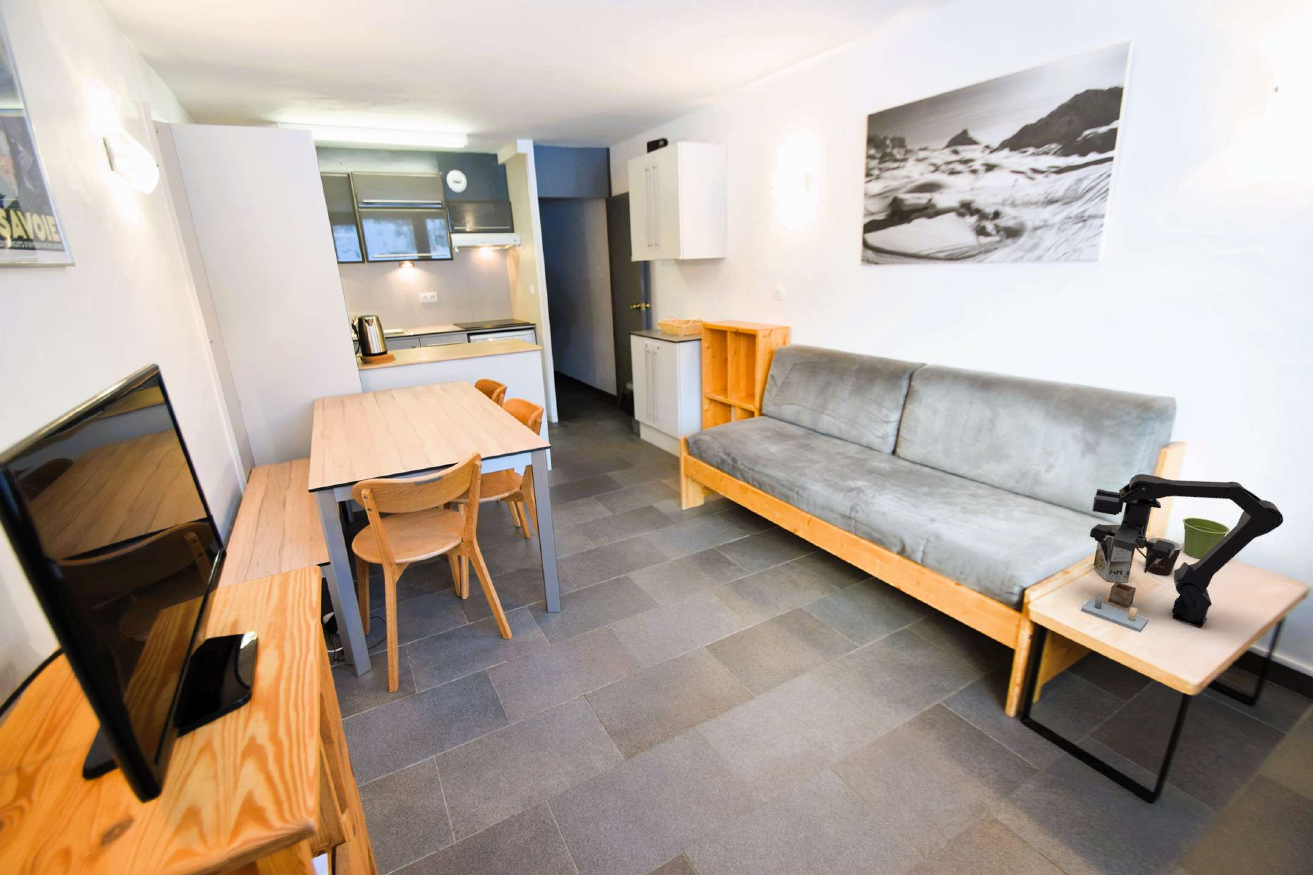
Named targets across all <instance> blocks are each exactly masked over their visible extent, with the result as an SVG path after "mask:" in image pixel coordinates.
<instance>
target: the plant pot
mask: <svg viewBox="0 0 1313 875" xmlns="http://www.w3.org/2000/svg"><path fill="white" fill-rule="evenodd" d="M1182 523H1183V528H1184V541H1183V543H1184V544H1183V552H1184V553H1185V554H1186V555H1190V557H1193V558H1195V559H1199V560H1200V559H1201V558H1202V557H1203V556H1204V555H1205V554H1207V553H1208V552H1209V551H1210V550H1211V549H1212V548H1213V547H1214V546H1215V545H1216V544H1217V543H1218V542H1219V541H1220V540H1222V539H1223V538H1224V537H1225V536H1226V535H1227V534H1228V533H1229V532H1230V531H1231V529H1230V528H1229V527H1228V526H1227V525H1225V524H1223V523H1221V522H1217V521H1214V520H1211V519H1207V518H1200V517H1186V518H1183V519H1182Z"/></svg>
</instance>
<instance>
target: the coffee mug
mask: <svg viewBox="0 0 1313 875" xmlns="http://www.w3.org/2000/svg"><path fill="white" fill-rule="evenodd" d="M1146 539H1147V541H1150V542H1153V543H1155V542H1156V541H1157V540H1162V541H1166V542H1169V543H1173V544H1174V545H1175V551H1174V553H1173V555H1172V556H1171V557H1170V558H1163V559H1157V560H1156V561H1155V562H1154V563H1153V564H1152V566H1151V567H1150V568H1149V570H1148V571H1147V572H1148V573H1150V574H1153V575H1155V576H1161V577H1169V576H1171V574H1172V572H1173V571H1174V567H1175V564H1176V562H1177V560H1178V558H1179V555H1180V553H1181V550H1182V548H1183V546H1182V545H1181V544H1180V543H1179V542H1177V541H1174V540H1170V539H1169V538H1168V539H1167V538H1162V537H1148V538H1146ZM1135 550H1137V552H1138V553H1139V554H1140V555H1141V556H1142V557H1143V558H1144V559H1145V565H1146V564H1147V561H1148V559H1149V555H1150V554H1151V553H1152V552H1151V551H1152V549H1150V548H1146V549H1145V551H1146V552H1145V553H1146V554H1144V552H1143V551H1142V550H1140V548H1138V549H1137V548H1135Z"/></svg>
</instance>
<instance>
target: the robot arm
mask: <svg viewBox="0 0 1313 875" xmlns="http://www.w3.org/2000/svg"><path fill="white" fill-rule="evenodd" d="M1118 491H1119V492H1117V491H1110V490H1104V489H1101V488H1097V489H1096V492H1095V496H1094V497H1093V503H1092V512H1094V513H1100V514H1105V515H1106V514H1107V515H1112V516H1117V515H1120V513H1123V516H1122V519H1121V520H1122V521H1121V523H1120V525H1121V526H1120V527H1119V529H1118V531H1117V533H1116V532H1113V531H1112V530H1113V528H1112V527H1109V526H1105V525H1106V524H1101V523H1098V524H1096V525H1094V526H1092V528H1091V530H1090V533H1089V537H1090V538H1093V539H1094V541H1095V542H1097V543H1098V542H1099V543H1100V544H1101V546H1102V549H1103V552H1104V556H1105V560H1106V561H1108V560H1109V557H1110V551H1111V543H1112V538H1114V544H1113V545H1114V546H1115V547H1117V548H1122V549H1126V550H1127V551H1134V550H1135V551H1136V550H1137V549H1142V550H1143V549H1145V548H1146V549H1147V548H1150V549H1152V551H1151V552H1152V553H1151V554H1150V555H1149V559H1148V561H1147V564H1146V563H1145V567H1144V571H1143V574H1146V573H1147V572H1148V570H1149V568H1150V567H1151V566H1152V564H1153V563H1154V562H1155V561H1156V560H1157V559H1163V558H1170V557H1171V556H1172V555H1173V553H1174V551H1175V545H1174V544H1173V543H1169V542H1166V541H1162V540H1157V541H1156V542H1155V543H1153V542H1150V541H1147V539H1148V538H1147V536H1146V535H1147V529H1148V526H1149V522H1150V521H1149V520H1150V516H1151V511H1152V508H1156V509H1162V505H1161V502H1160V501H1159V499H1163V498H1167V497H1168V498H1169V497H1183V498H1184V497H1185V498H1199V499H1200V498H1203V499H1204V498H1206V499H1220V500H1221V499H1222V500H1223V499H1224V500H1230V501H1232V502H1233V503H1234V504H1235V505H1237V506H1238V507H1239V508H1240V509H1241V510H1242V513H1241V515H1240V517H1239V519H1238V521H1237V523H1236V525H1235V526H1234V527H1233V528H1232V529H1230V531H1229V532H1228V533H1226V535H1225V537H1224V538H1223V539H1222V540H1220V541H1219V542H1218V543H1217V544H1216V545H1215V546H1214V547H1213V548H1212V549H1211V550H1210V551H1209V552H1208V553H1207V554H1205V555H1204V556H1203V557H1202V558H1201V559H1200V558H1199V560H1198V561H1197V562H1196V561H1195V563H1191V564H1189V563H1187V562H1186V561H1184V562H1183V563H1182V564H1181V565H1180V567H1179V568H1177V569H1175V570H1174V569H1173V573H1174V575H1173V583H1174V586H1175V591H1176V593H1177V594H1178V597H1176V599H1175V600H1174V602H1173V605H1172V610H1171V613H1172V616H1171V618H1172V619H1174V620H1177V621H1181V622H1183V623H1186V624H1189V625H1192V626H1196V627H1198V628H1203V627H1204V625H1205V623H1206V622H1207V621H1208V617H1207V616H1208V612H1209V608H1210V607H1211V606H1212V601H1211V600H1212V599H1211V598H1210V594H1209V591H1208V589H1207V588H1208V587H1209V585H1210V583H1211V581H1212V579H1213V577H1214V576H1215V574H1216V573H1217V572H1219V571H1220V570H1221V569H1222V568H1224V566H1225V565H1226V564H1228V563H1229V562H1230V561H1231V560H1232V559H1233V558H1234V557H1235V556H1236V555H1237V554H1238V553H1240V552H1241V551H1242V550H1244V548H1245V547H1246V546H1248V545H1249V544H1250V543H1251V542H1252V541H1253V540H1254V539H1256V538H1259V537H1261V536H1264V535H1266V534H1267V535H1268V534H1269V533H1271V532H1272V531H1273V530H1275V529H1277V528H1279V527H1280V526H1281V525H1282V524H1283V522H1284V516H1283V514H1282V513H1281V511H1280V510H1279V508H1278V507H1277V506H1276V504H1275V503H1273V502H1271V501H1268V500H1264V499H1261V498H1260V497H1259V496H1257V495H1256V494H1254V493H1253V492H1252V491H1250V490H1248V489H1247V488H1245V487H1243V485H1242V484H1241V483H1239V482H1237V481H1227V482H1226V481H1208V480H1207V481H1205V480H1202V481H1201V480H1199V481H1198V480H1177V479H1176V480H1175V479H1167V478H1163V477H1160V476H1157V475H1153V474H1152V475H1151V474H1145V473H1139V474H1135V475H1134V476H1132V477H1131V478H1130V479H1129V483H1127V484H1126V485H1124V486H1123V487H1121V489H1119V490H1118ZM1124 504H1125V507H1123V506H1124ZM1123 508H1124V512H1122V511H1123ZM1136 548H1137V549H1136Z"/></svg>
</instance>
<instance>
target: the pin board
mask: <svg viewBox="0 0 1313 875" xmlns="http://www.w3.org/2000/svg"><path fill="white" fill-rule="evenodd" d="M1103 601H1104V596H1102V595H1096V598H1095V600H1094V599H1091V598H1090V599H1088V600H1087V602H1085V603H1084V604H1083V605H1082V607H1081V608H1080V610H1081V612H1083V613H1085V614H1089V615H1091V616H1095V617H1097V618H1101V619H1102V620H1105V621H1108V622H1111V623H1114V624H1116V625H1119V626H1122V627H1125V628H1127V629H1130V630H1133V631H1136V632H1138V633H1141V632H1142V631H1143V630H1144V628H1145V627H1146V626H1147V624H1148V622H1149V619H1148V618H1145V617H1143V616H1141V615H1138V614H1137V613H1138V608H1136V607H1133V606H1130V607H1129V610H1128V611H1125V610H1123V609H1120V608H1117V607H1114V606H1111V605H1108V604H1105V603H1104V602H1103Z"/></svg>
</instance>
